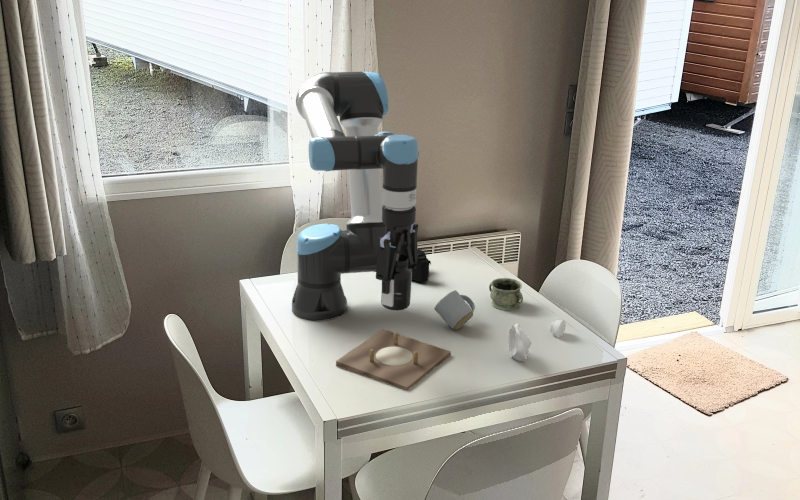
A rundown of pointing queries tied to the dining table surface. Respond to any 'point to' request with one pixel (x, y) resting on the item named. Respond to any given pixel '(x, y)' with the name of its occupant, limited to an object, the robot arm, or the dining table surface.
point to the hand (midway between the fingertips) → (396, 299)
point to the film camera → (421, 267)
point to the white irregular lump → (558, 328)
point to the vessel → (506, 293)
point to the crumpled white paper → (518, 343)
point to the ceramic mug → (455, 309)
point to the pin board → (393, 359)
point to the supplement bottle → (401, 284)
